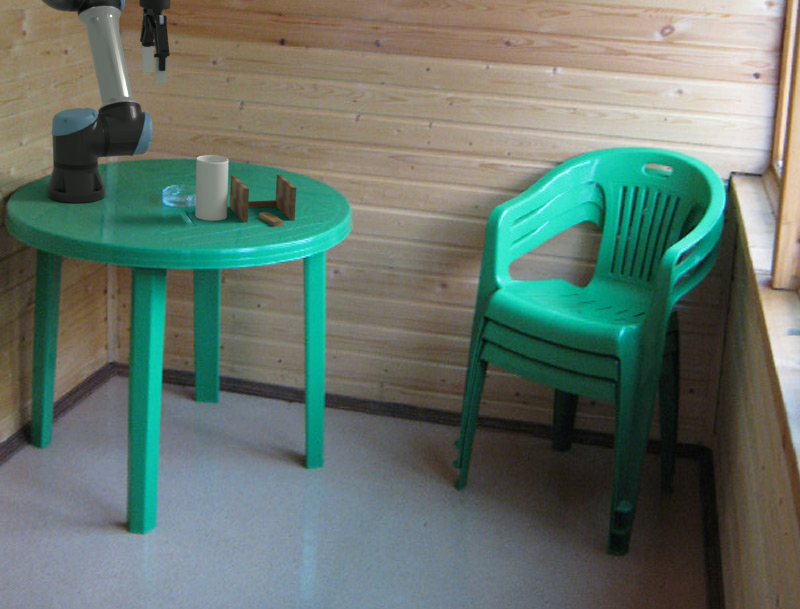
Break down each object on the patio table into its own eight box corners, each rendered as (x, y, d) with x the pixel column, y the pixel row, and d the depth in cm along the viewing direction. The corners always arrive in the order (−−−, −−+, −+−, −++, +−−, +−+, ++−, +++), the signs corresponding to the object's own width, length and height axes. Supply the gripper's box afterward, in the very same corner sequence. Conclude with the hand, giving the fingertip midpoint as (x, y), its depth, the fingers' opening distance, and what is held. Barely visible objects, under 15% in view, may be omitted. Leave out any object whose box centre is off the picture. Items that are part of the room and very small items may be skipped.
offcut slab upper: (273, 227, 276) (274, 222, 276) (259, 218, 283) (259, 212, 282) (283, 226, 278) (283, 221, 277) (268, 217, 284) (268, 212, 284)
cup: (192, 213, 282) (193, 155, 277) (222, 212, 286) (224, 154, 280) (199, 222, 275) (200, 163, 270) (230, 221, 279) (231, 162, 273)
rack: (229, 210, 290) (230, 175, 286) (278, 208, 295) (280, 173, 292) (243, 225, 278) (245, 189, 274) (294, 223, 283) (296, 187, 280)
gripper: (128, -17, 268) (128, 68, 276) (151, -3, 247) (151, 88, 255) (157, -15, 271) (156, 68, 279) (183, -1, 251) (181, 88, 259)
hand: (154, 78), depth 267 cm, fingers open, 13 cm apart
